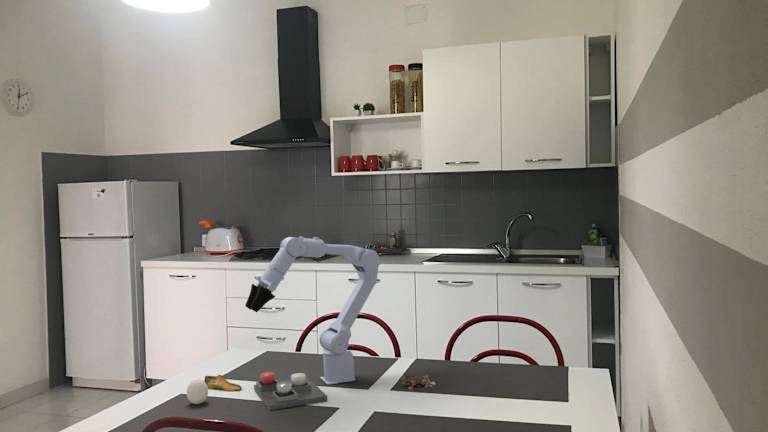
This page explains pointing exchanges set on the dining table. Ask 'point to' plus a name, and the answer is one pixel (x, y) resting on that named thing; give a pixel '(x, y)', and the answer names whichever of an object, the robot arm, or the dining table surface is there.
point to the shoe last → (220, 383)
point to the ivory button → (298, 379)
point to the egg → (197, 391)
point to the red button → (267, 378)
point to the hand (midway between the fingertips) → (250, 309)
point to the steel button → (284, 388)
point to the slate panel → (296, 398)
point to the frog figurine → (416, 381)
